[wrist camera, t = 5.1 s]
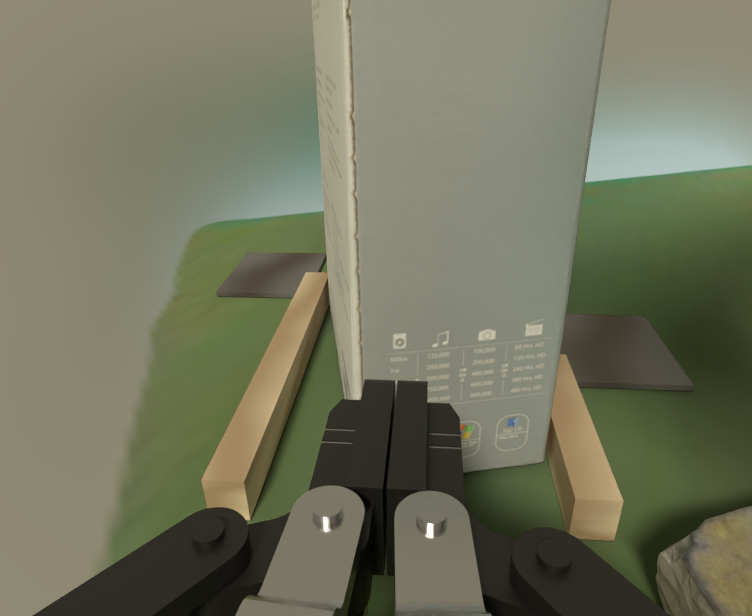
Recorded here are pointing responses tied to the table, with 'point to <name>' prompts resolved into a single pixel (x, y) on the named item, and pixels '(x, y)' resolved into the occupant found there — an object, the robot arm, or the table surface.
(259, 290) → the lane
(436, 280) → the hard drive box
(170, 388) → the table surface
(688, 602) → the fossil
